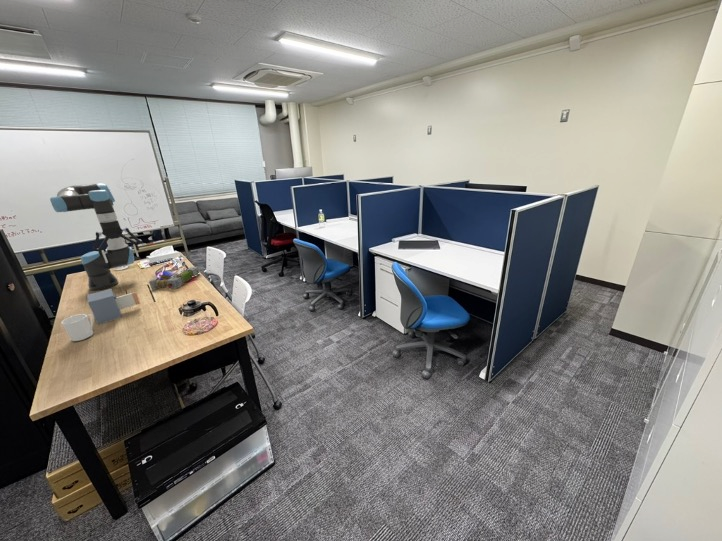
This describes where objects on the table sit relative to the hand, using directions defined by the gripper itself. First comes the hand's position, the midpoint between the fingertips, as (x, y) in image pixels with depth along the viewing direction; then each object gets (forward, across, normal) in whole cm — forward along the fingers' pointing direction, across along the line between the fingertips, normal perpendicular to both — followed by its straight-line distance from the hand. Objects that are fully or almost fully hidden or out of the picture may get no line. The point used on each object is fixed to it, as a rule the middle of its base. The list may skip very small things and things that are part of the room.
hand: (122, 259), depth 159 cm
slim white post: (+25, -9, -6) cm, 27 cm away
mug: (+28, -23, -22) cm, 42 cm away
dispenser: (+28, -14, -6) cm, 32 cm away
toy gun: (+28, +23, +21) cm, 42 cm away
